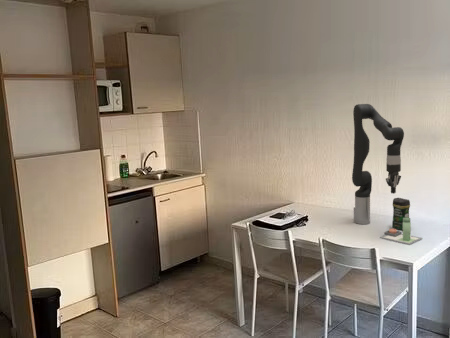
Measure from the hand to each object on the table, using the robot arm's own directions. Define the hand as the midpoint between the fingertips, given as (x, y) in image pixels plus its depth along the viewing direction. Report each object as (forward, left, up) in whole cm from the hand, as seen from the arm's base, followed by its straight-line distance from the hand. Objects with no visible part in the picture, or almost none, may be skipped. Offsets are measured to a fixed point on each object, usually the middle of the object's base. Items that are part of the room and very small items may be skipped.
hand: (393, 193), depth 252 cm
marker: (+11, -4, -24) cm, 27 cm away
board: (+6, -2, -25) cm, 26 cm away
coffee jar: (-4, +16, -25) cm, 30 cm away
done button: (0, 0, -24) cm, 24 cm away
